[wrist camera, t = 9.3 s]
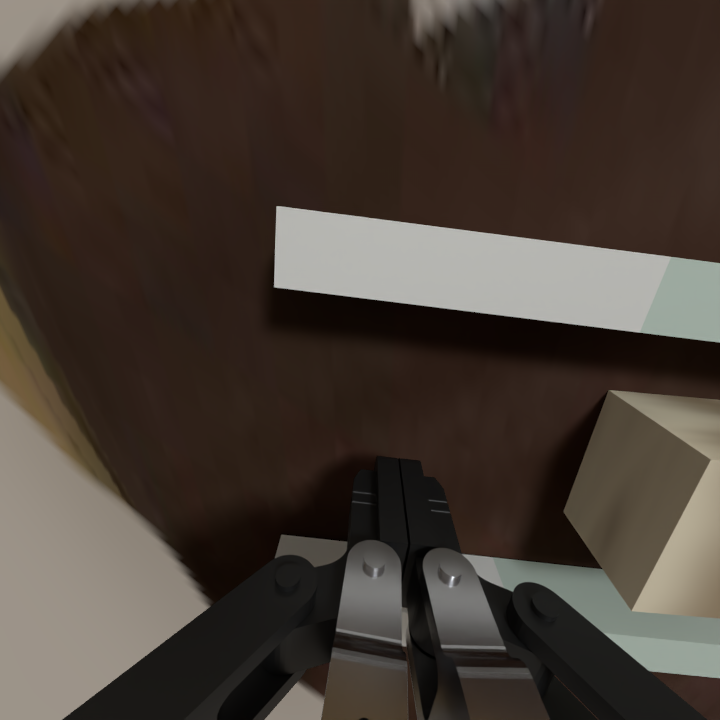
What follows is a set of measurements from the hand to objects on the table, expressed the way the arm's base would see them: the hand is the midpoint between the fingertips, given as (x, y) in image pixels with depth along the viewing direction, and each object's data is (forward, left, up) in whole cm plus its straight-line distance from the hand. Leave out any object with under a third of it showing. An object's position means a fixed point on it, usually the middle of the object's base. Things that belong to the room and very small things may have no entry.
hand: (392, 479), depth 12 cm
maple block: (-11, 0, -3) cm, 11 cm away
